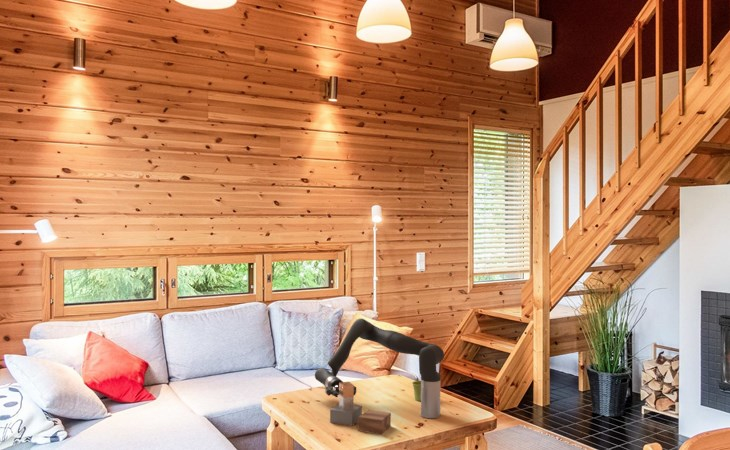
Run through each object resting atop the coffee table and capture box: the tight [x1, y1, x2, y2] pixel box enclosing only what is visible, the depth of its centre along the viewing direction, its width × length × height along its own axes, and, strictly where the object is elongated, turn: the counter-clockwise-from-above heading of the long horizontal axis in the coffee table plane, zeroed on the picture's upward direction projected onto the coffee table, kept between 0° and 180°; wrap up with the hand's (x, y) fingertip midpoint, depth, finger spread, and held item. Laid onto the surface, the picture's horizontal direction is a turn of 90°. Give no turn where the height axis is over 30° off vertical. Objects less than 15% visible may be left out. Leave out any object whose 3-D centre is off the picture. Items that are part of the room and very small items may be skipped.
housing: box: [338, 381, 355, 410], centre depth 276 cm, size 5×6×11 cm
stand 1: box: [329, 403, 363, 427], centre depth 276 cm, size 11×11×6 cm
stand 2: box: [357, 409, 392, 435], centre depth 265 cm, size 11×11×6 cm
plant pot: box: [411, 380, 421, 402], centre depth 308 cm, size 9×9×9 cm
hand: (345, 394), depth 276 cm, fingers open, 8 cm apart
